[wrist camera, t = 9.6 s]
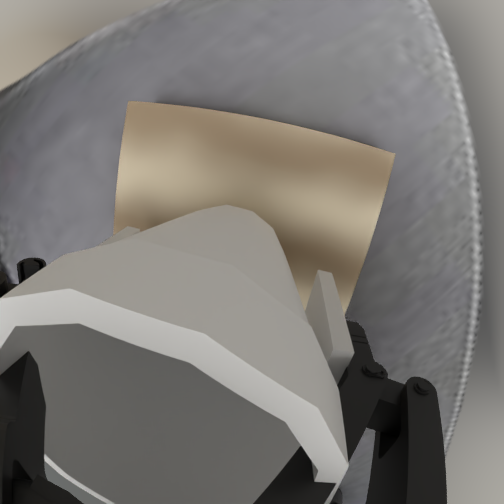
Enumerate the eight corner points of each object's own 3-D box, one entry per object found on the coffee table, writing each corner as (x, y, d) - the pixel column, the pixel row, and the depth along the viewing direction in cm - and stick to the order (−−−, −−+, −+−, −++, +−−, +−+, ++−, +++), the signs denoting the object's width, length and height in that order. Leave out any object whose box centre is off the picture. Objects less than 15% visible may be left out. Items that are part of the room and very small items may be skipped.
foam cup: (334, 301, 18) (374, 515, 6) (198, 346, 20) (128, 524, 8) (267, 146, 15) (201, 176, 3) (123, 218, 18) (-53, 339, 6)
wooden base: (316, 342, 26) (319, 374, 22) (133, 299, 26) (113, 323, 22) (376, 150, 20) (395, 153, 16) (153, 105, 20) (128, 100, 17)
